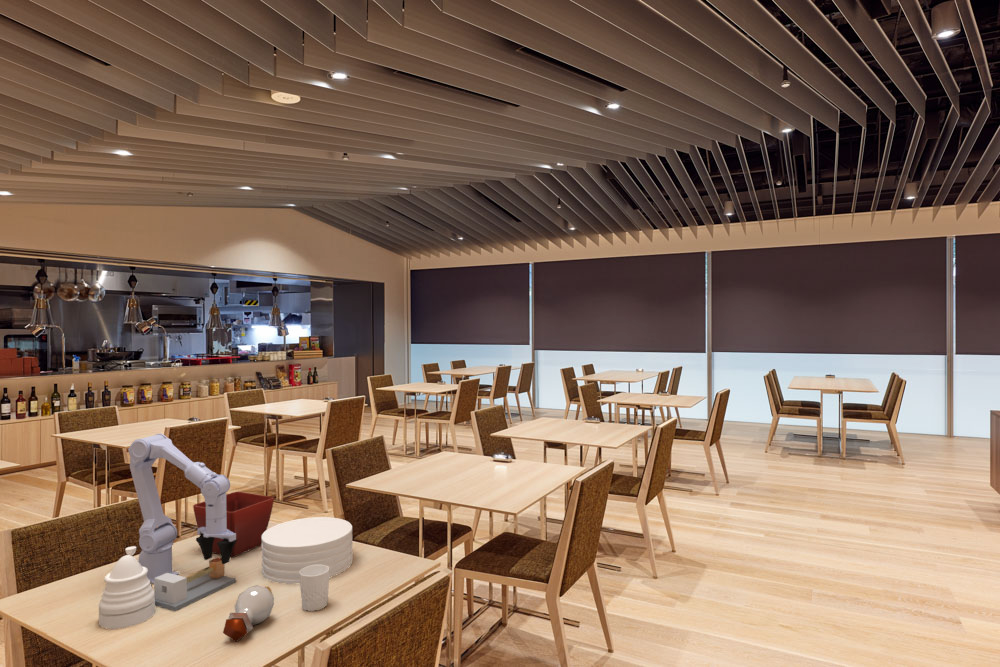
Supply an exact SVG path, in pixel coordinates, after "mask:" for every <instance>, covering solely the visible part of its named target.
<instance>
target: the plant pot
mask: <svg viewBox="0 0 1000 667" xmlns="http://www.w3.org/2000/svg"><path fill="white" fill-rule="evenodd" d="M274 499H275V498H274V496H268V495H262V494H255V493H248V492H242V491H235V492H231V493H226V514H227V515H226V516H227V529H228V530H230V531H231V532H233V533H236V538H237V542H236V543H235V545H234V547H233V550H232V552H231V556H230V558H232V557H237V556H239V555H241V553H242V554H244V553H246V552H248V550H249V551H250V550H253V549H255V548H257V546H258V547H259V546H262V534H263V533H264V532H265V531H266V530H267V529H268V526H269V523H270V519H271V515H272V512H273V511H272V510H273V506H274V502H275V501H274ZM192 506H193V507H192V508H193V513H194V518H195V521H196V526H197V529H198V528H201V527H206V502H205V500H204V501H202V502H198V503H195V504H193V505H192ZM220 541H223V539H221V538H216V537H215V538H214V542H213V550H212V554H217V555H221V553H220V549H219V546H218V544H217V543H218V542H220Z"/></svg>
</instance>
